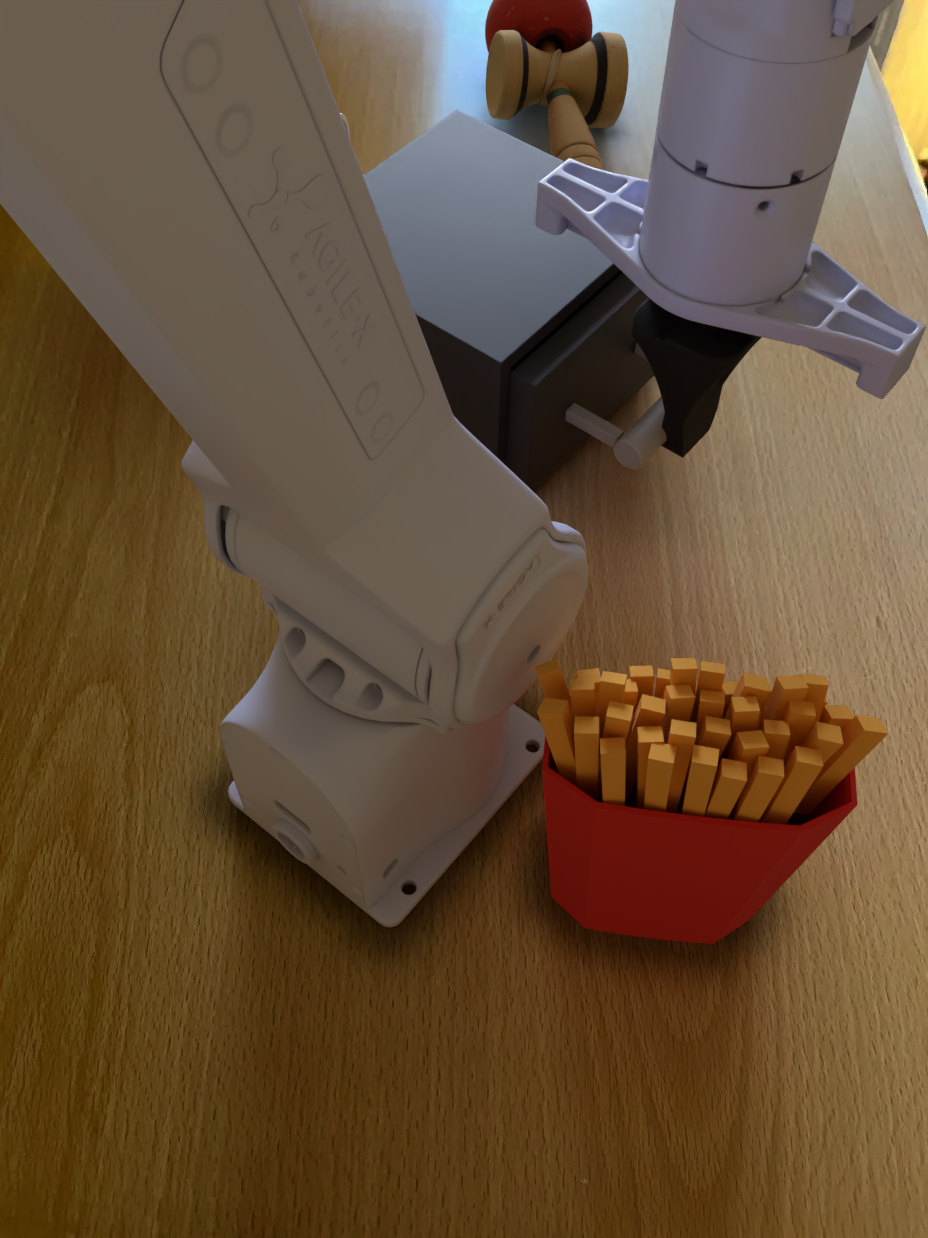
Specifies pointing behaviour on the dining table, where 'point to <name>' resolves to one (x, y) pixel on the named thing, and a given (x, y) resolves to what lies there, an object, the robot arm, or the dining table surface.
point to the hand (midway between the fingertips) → (681, 435)
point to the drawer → (582, 388)
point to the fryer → (480, 260)
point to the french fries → (689, 792)
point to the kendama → (556, 71)
